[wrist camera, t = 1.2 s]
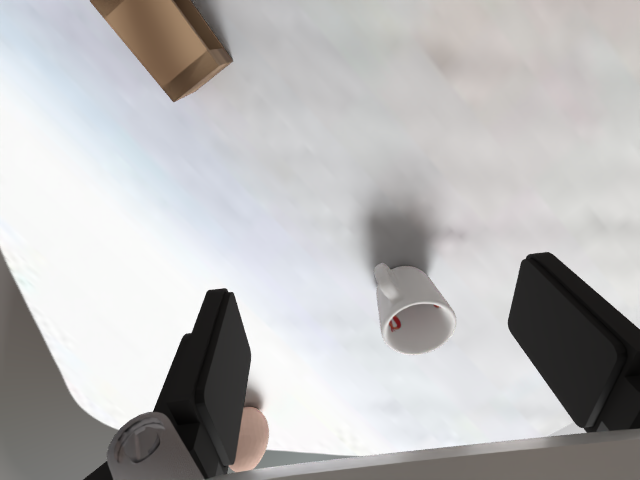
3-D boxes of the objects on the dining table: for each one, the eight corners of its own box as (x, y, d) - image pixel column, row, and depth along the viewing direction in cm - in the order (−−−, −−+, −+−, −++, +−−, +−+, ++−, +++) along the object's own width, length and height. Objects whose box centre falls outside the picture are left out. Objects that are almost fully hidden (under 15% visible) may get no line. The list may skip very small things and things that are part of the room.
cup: (343, 265, 42) (351, 310, 35) (400, 228, 40) (420, 269, 33) (391, 317, 47) (406, 366, 40) (444, 286, 44) (470, 333, 37)
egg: (266, 394, 53) (260, 455, 46) (274, 419, 57) (269, 481, 49) (223, 398, 54) (210, 461, 46) (234, 424, 57) (223, 486, 49)
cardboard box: (169, -31, 27) (137, -46, 22) (233, 60, 31) (218, 66, 25) (128, 7, 28) (89, 0, 23) (195, 91, 32) (173, 102, 26)
